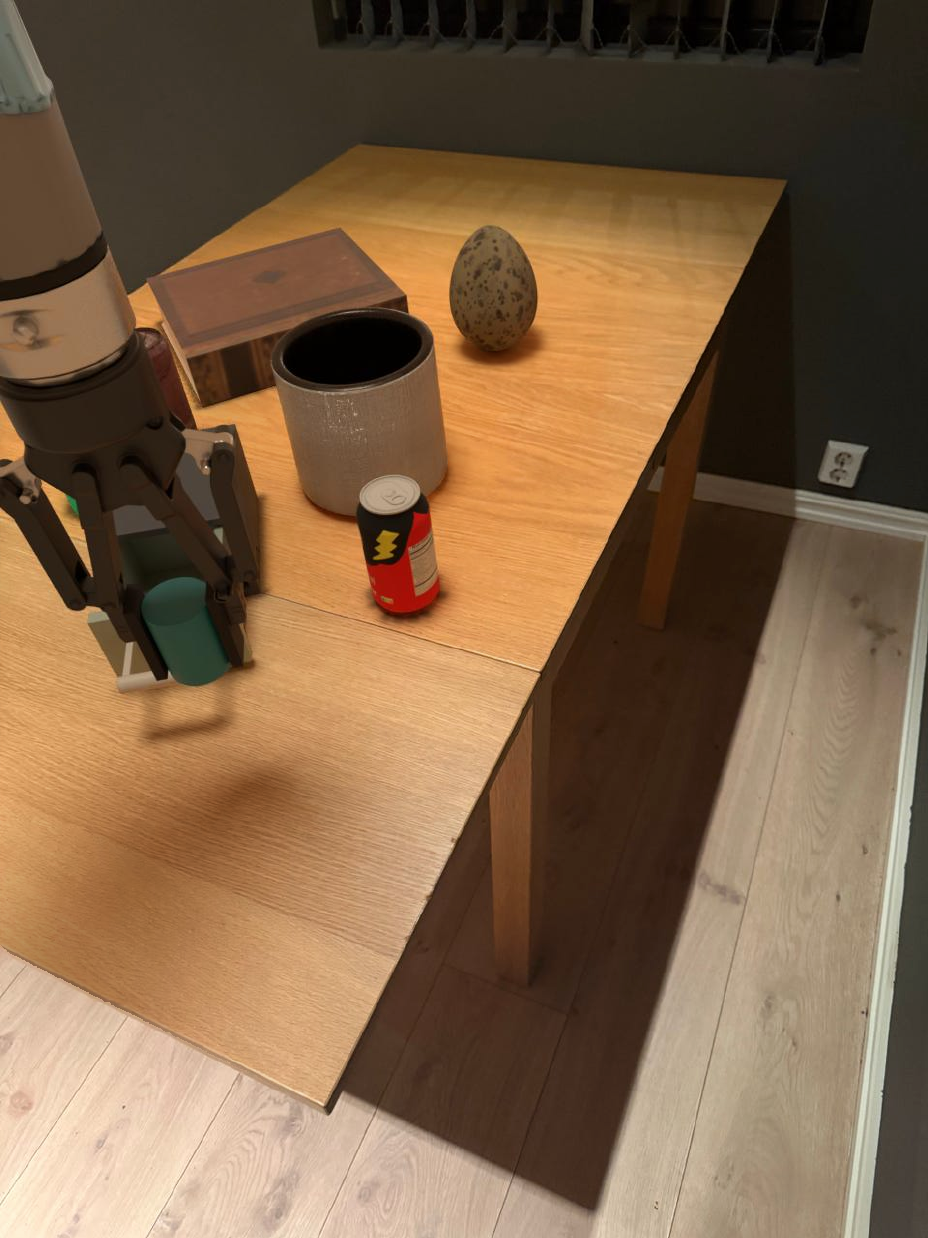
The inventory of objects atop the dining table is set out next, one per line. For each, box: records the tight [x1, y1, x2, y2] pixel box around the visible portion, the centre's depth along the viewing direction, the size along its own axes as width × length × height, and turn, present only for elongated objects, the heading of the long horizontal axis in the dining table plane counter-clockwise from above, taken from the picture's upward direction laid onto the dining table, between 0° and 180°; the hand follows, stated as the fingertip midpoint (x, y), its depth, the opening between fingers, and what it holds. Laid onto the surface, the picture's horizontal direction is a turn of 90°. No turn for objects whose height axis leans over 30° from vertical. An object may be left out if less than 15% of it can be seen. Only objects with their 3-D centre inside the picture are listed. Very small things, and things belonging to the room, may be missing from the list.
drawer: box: [86, 525, 253, 695], centre depth 76 cm, size 19×11×8 cm, turn 10°
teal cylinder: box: [141, 577, 232, 687], centre depth 58 cm, size 4×4×6 cm
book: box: [145, 227, 410, 408], centre depth 117 cm, size 24×28×7 cm
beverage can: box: [355, 475, 440, 613], centre depth 78 cm, size 6×6×12 cm
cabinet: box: [113, 423, 261, 596], centre depth 85 cm, size 15×13×10 cm
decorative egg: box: [448, 224, 539, 352], centre depth 107 cm, size 11×11×15 cm
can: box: [135, 326, 199, 430], centre depth 97 cm, size 6×6×14 cm
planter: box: [270, 307, 448, 517], centre depth 90 cm, size 16×16×16 cm
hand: (200, 658), depth 60 cm, fingers closed on teal cylinder, 4 cm apart
